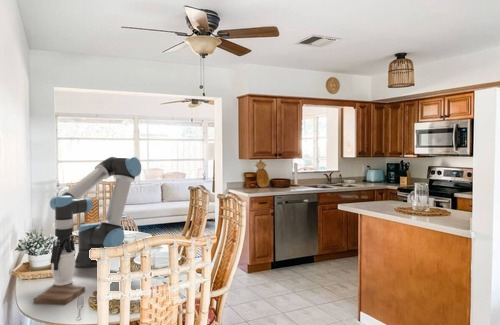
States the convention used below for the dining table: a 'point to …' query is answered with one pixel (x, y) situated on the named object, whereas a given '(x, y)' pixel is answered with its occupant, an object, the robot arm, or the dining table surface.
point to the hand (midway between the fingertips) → (63, 273)
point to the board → (59, 294)
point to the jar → (65, 268)
